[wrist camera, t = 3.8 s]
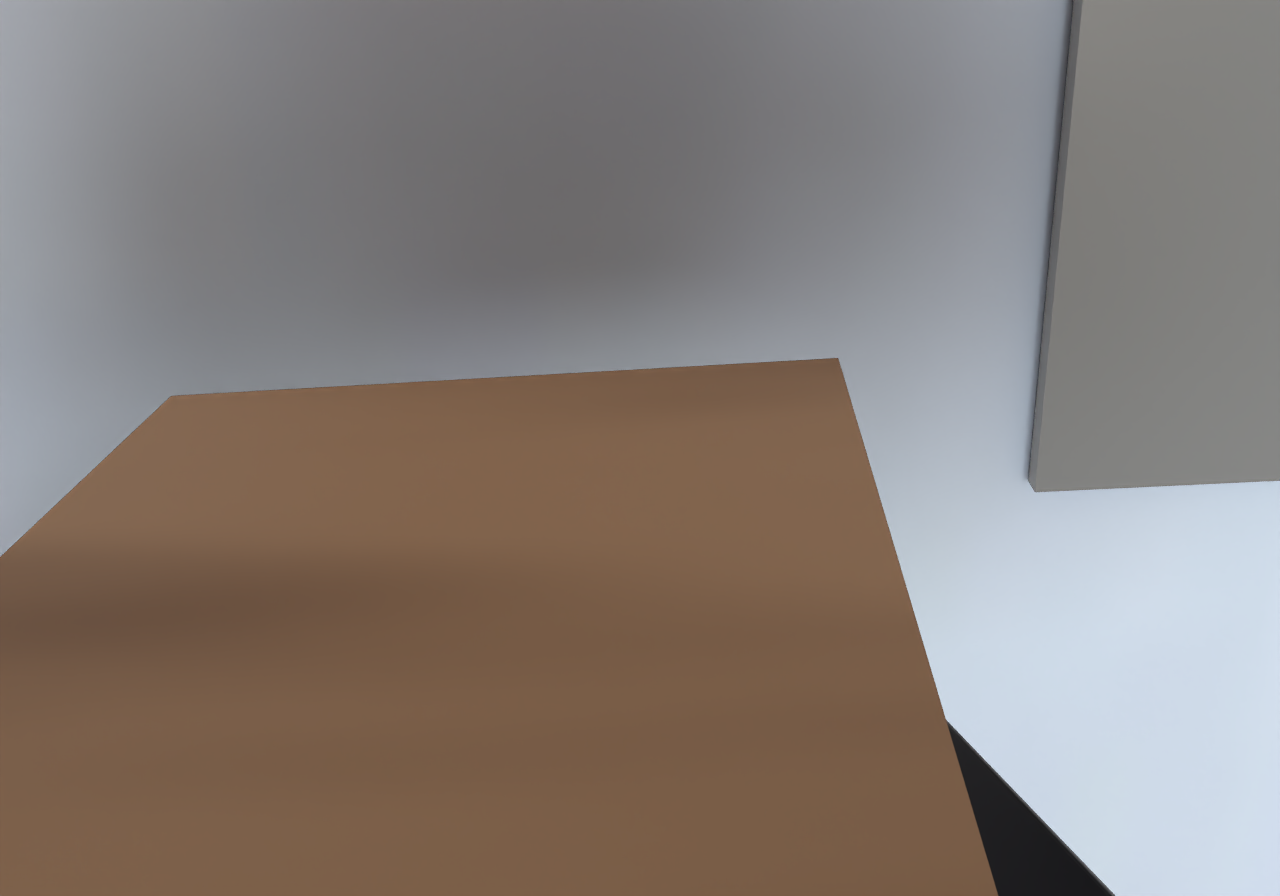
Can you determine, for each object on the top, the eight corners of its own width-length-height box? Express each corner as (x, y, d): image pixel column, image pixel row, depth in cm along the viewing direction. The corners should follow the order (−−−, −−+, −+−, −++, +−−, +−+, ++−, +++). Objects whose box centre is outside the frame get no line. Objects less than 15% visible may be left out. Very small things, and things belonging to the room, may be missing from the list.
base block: (837, 853, 10) (946, 1629, 5) (316, 863, 10) (29, 1590, 6) (837, 359, 8) (1027, 994, 3) (171, 395, 8) (-476, 1004, 4)
